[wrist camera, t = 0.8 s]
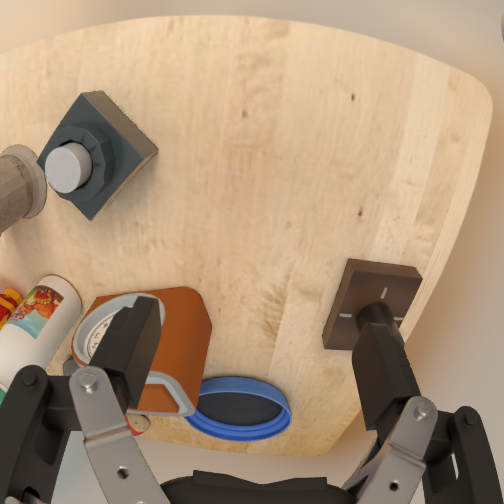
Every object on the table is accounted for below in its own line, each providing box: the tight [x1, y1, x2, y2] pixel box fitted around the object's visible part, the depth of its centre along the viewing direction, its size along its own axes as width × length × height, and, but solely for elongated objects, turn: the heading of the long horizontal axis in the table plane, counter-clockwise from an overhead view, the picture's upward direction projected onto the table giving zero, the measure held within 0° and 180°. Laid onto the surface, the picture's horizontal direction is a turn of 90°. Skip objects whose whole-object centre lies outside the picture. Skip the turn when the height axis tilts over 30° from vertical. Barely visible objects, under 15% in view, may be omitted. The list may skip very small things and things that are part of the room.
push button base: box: [36, 91, 158, 221], centre depth 25 cm, size 9×9×6 cm
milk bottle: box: [0, 275, 81, 405], centre depth 29 cm, size 8×8×20 cm
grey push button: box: [45, 143, 92, 193], centre depth 22 cm, size 4×4×2 cm
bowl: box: [184, 377, 292, 442], centre depth 46 cm, size 18×18×4 cm
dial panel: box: [322, 259, 423, 350], centre depth 35 cm, size 12×9×3 cm
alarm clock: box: [71, 287, 212, 417], centre depth 32 cm, size 15×8×14 cm, turn 101°
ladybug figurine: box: [125, 412, 149, 436], centre depth 53 cm, size 7×10×4 cm
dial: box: [356, 303, 404, 348], centre depth 31 cm, size 4×4×6 cm
